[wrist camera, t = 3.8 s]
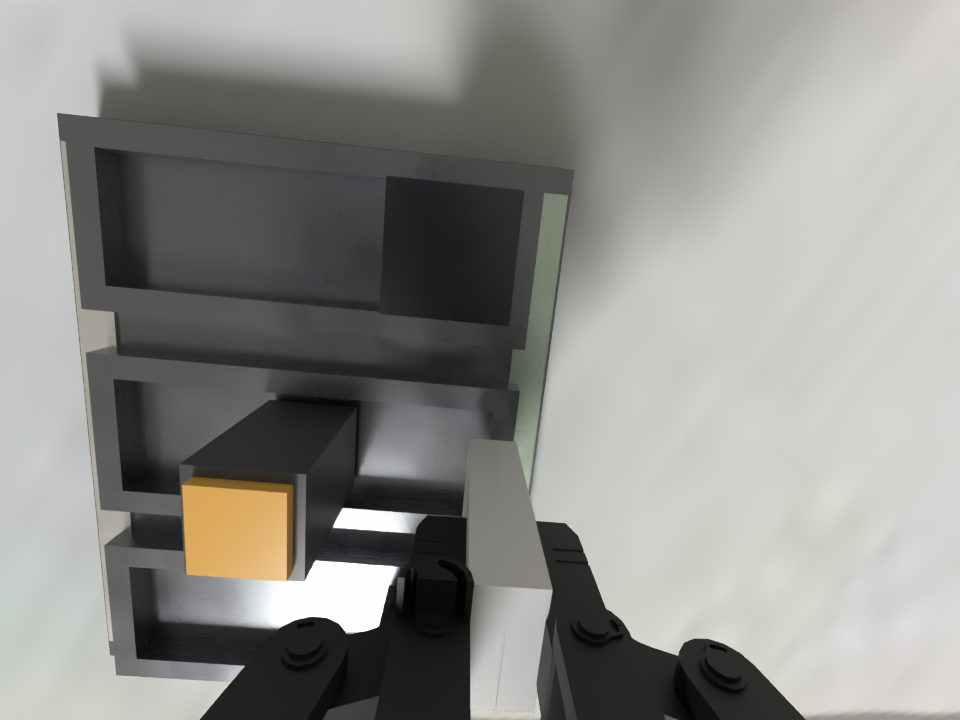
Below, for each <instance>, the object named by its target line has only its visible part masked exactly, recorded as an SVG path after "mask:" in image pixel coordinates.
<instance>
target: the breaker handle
mask: <svg viewBox="0 0 960 720" xmlns="http://www.w3.org/2000/svg"><path fill="white" fill-rule="evenodd" d="M356 420H357V407H349V406H337V405H326V404H314V403H303V402H291V401H279V400H269V401H267V402H266V403H264V404H263V405H262V406H260V407H259V408H257V409H256V410H255V411H253V412H252V413H250V414H249V415H248V416H246V417H245V418H243V419H242V420H240V421H239V422H238V423H236V424H235V425H233V426H232V427H231V428H229V429H228V430H226V431H225V432H224V433H222V434H221V435H219V436H218V437H217V438H215V439H214V440H212V441H211V442H210V443H208V444H207V445H205V446H204V447H203V448H201V449H200V450H198V451H197V452H196V453H194V454H193V455H191V456H190V457H189V458H187V459H186V460H184V461H183V462H181V463H180V464H179V474H180V493H181V512H182V531H183V551H184V570H185V573H186V574H187V575H196V576H211V577H225V578H239V579H253V580H268V581H282V582H287V581H300V582H305V580H306V578H307V576H308V574H309V572H310V570H311V568H312V566H313V564H314V562H315V561H316V559H317V557H318V555H319V553H320V551H321V549H322V547H323V545H324V543H325V541H326V539H327V537H328V535H329V533H330V531H331V529H332V527H333V525H334V523H335V521H336V519H337V517H338V516H339V514H340V512H341V510H342V508H343V506H344V504H345V502H346V500H347V498H348V496H349V494H350V492H351V490H352V488H353V486H354V469H355V445H356Z"/></svg>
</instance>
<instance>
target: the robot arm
mask: <svg viewBox="0 0 960 720" xmlns="http://www.w3.org/2000/svg"><path fill="white" fill-rule="evenodd" d="M537 692H538V698H539V705H540V711H541V720H805V719H804V718H803V716H802V715H801V714H800V713H799V712H798V711H797V710H796V709H795V708H794V707H793V706H792V705H791V704H790V703H789V702H788V701H787V700H786V698H785V697H784V696H783V695H782V694H781V693H780V692H779V691H778V690H777V689H776V688H775V687H774V686H773V685H772V684H771V683H770V681H769V680H768V679H767V678H766V677H765V676H764V675H763V674H762V673H761V672H760V671H759V670H758V669H757V668H756V667H755V666H754V665H753V664H752V663H751V662H750V661H749V660H747V659H746V658H745V657H744V656H743V655H742V654H740V653H739V652H737V651H735V650H734V649H732V648H730V647H728V646H726V645H725V644H722V643H719V642H716V641H713V640H709V639H692V640H690V641H688V642H685V643H684V644H683V646H682V648H681V649H680V651H679V655H678V656H676V655H673V654H670V653H667V652H664V651H661V650H658V649H655V648H652V647H649V646H647V645H644V644H642V643H640V642H637V641H636V640H634V639H633V638H631V635H630V633H629V631H628V630H627V628H626V626H625V625H624V623H623V622H622V621H621V620H620V619H619V618H618V617H617V616H616V615H614V614H613V613H612V612H611V611H609V610H607V609H606V608H605V605H604V603H603V600H602V597H601V595H600V592H599V590H598V587H597V584H596V582H595V579H594V576H593V574H592V571H591V569H590V566H589V565H588V561H587V558H586V556H585V553H583V548H582V545H581V543H580V540H579V537H578V536H577V535H576V534H575V533H574V532H573V531H572V530H571V529H570V528H569V527H568V526H567V525H566V524H565V523H554V522H540V521H536V520H535V516H534V512H533V508H532V504H531V500H530V496H529V492H528V488H527V484H526V479H525V475H524V471H523V467H522V463H521V459H520V455H519V451H518V447H517V443H516V442H513V441H500V440H487V439H475V438H469V448H468V458H467V469H466V479H465V490H464V501H463V511H462V517H451V516H437V515H427V516H426V517H425V518H424V519H423V520H422V521H421V522H420V523H419V525H418V526H417V529H416V534H415V539H414V544H413V549H412V555H411V559H410V562H409V563H408V564H407V565H405V566H404V567H403V568H402V570H401V572H400V574H399V576H398V579H397V596H396V612H395V615H394V616H393V617H391V618H390V619H389V620H388V621H387V622H385V623H383V624H382V625H380V626H378V627H376V628H373V629H370V630H367V631H363V632H358V633H354V634H349V635H347V633H346V632H345V630H344V629H343V628H342V627H341V625H340V624H339V623H337V622H335V621H333V620H331V619H329V618H324V617H313V616H312V617H307V618H302V619H297V620H295V621H292V622H290V623H288V624H286V625H284V626H282V627H281V628H279V629H278V630H277V631H276V632H275V633H274V634H273V635H271V636H270V637H269V638H268V639H267V640H266V642H265V643H264V644H263V645H262V646H261V648H260V649H259V650H258V651H257V652H256V653H255V655H254V656H253V657H252V658H251V659H250V661H249V662H248V663H247V664H246V665H245V667H244V668H243V669H242V670H241V671H240V672H239V674H238V675H237V676H236V677H235V678H234V680H233V681H232V682H231V683H230V684H229V686H228V687H227V688H226V689H225V690H224V692H223V693H222V694H221V695H220V696H219V697H218V699H217V700H216V701H215V702H214V703H213V705H212V706H211V707H210V708H209V709H208V711H207V712H206V713H205V714H204V715H203V716H202V718H201V719H200V720H470V709H475V710H493V711H511V712H530V713H534V711H535V704H536V698H537Z"/></svg>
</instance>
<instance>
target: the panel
mask: <svg viewBox="0 0 960 720" xmlns="http://www.w3.org/2000/svg"><path fill="white" fill-rule="evenodd" d="M57 118H58V128H59V138H60V148H61V158H62V169H63V179H64V189H65V199H66V209H67V220H68V230H69V240H70V250H71V260H72V271H73V281H74V291H75V301H76V311H77V322H78V332H79V342H80V352H81V362H82V373H83V383H84V393H85V403H86V413H87V424H88V434H89V444H90V454H91V464H92V475H93V485H94V495H95V505H96V515H97V526H98V536H99V546H100V556H101V566H102V577H103V587H104V597H105V607H106V617H107V628H108V638H109V648H110V655H115V666H116V675H123V676H140V677H156V678H172V679H189V680H205V681H222V682H232V681H233V680H234V678H235V677H236V676H237V675H238V674H239V672H240V671H241V670H242V669H243V668H244V667H245V665H246V664H247V663H248V662H249V661H250V659H251V658H252V657H253V656H254V655H255V653H256V652H257V651H258V650H259V649H260V648H261V646H262V645H263V644H264V643H265V642H266V640H267V639H268V638H269V637H270V636H271V635H273V634H274V633H275V632H276V631H277V630H278V629H279V628H281V627H282V626H284V625H286V624H288V623H290V622H292V621H295V620H297V619H302V618H307V617H312V616H313V617H324V618H329V619H331V620H333V621H335V622H337V623H339V624H340V625H341V627H342V628H343V629H344V630H345V632H346V633H347V635H349V634H354V633H358V632H363V631H367V630H370V629H373V628H376V627H378V626H380V625H382V624H383V623H385V622H387V621H388V620H389V619H390V618H391V617H393V616H394V615H395V612H396V596H397V579H398V576H399V574H400V572H401V570H402V568H403V567H404V566H405V565H407V564H408V563H409V562H410V559H411V555H412V549H413V544H414V539H415V534H416V529H417V526H418V525H419V523H420V522H421V521H422V520H423V519H424V518H425V517H426V516H427V515H437V516H451V517H462V511H463V501H464V490H465V479H466V469H467V458H468V448H469V438H475V439H487V440H500V441H513V442H516V443H517V447H518V451H519V455H520V459H521V463H522V467H523V471H524V475H525V479H526V484H527V488H528V492H529V496H530V492H531V485H532V477H533V470H534V462H535V455H536V448H537V440H538V433H539V425H540V418H541V411H542V403H543V396H544V388H545V381H546V374H547V366H548V359H549V351H550V344H551V337H552V329H553V322H554V315H555V307H556V300H557V292H558V285H559V278H560V270H561V263H562V255H563V248H564V241H565V233H566V226H567V218H568V211H569V204H570V196H571V189H572V181H573V174H574V170H570V169H561V168H552V167H543V166H534V165H524V164H515V163H506V162H497V161H488V160H479V159H470V158H461V157H452V156H443V155H434V154H424V153H415V152H406V151H397V150H388V149H379V148H370V147H361V146H352V145H343V144H334V143H325V142H315V141H306V140H297V139H288V138H279V137H270V136H261V135H252V134H243V133H234V132H225V131H216V130H206V129H197V128H188V127H179V126H170V125H161V124H152V123H143V122H134V121H125V120H116V119H106V118H97V117H88V116H79V115H70V114H61V113H57ZM269 400H279V401H291V402H303V403H314V404H326V405H337V406H349V407H357V420H356V445H355V469H354V486H353V488H352V490H351V492H350V494H349V496H348V498H347V500H346V502H345V504H344V506H343V508H342V510H341V512H340V514H339V516H338V517H337V519H336V521H335V523H334V525H333V527H332V529H331V531H330V533H329V535H328V537H327V539H326V541H325V543H324V545H323V547H322V549H321V551H320V553H319V555H318V557H317V559H316V561H315V562H314V564H313V566H312V568H311V570H310V572H309V574H308V576H307V578H306V580H305V582H300V581H287V582H282V581H268V580H253V579H239V578H225V577H211V576H196V575H187V574H186V573H185V570H184V551H183V531H182V512H181V493H180V474H179V464H180V463H181V462H183V461H184V460H186V459H187V458H189V457H190V456H191V455H193V454H194V453H196V452H197V451H198V450H200V449H201V448H203V447H204V446H205V445H207V444H208V443H210V442H211V441H212V440H214V439H215V438H217V437H218V436H219V435H221V434H222V433H224V432H225V431H226V430H228V429H229V428H231V427H232V426H233V425H235V424H236V423H238V422H239V421H240V420H242V419H243V418H245V417H246V416H248V415H249V414H250V413H252V412H253V411H255V410H256V409H257V408H259V407H260V406H262V405H263V404H264V403H266V402H267V401H269Z"/></svg>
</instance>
